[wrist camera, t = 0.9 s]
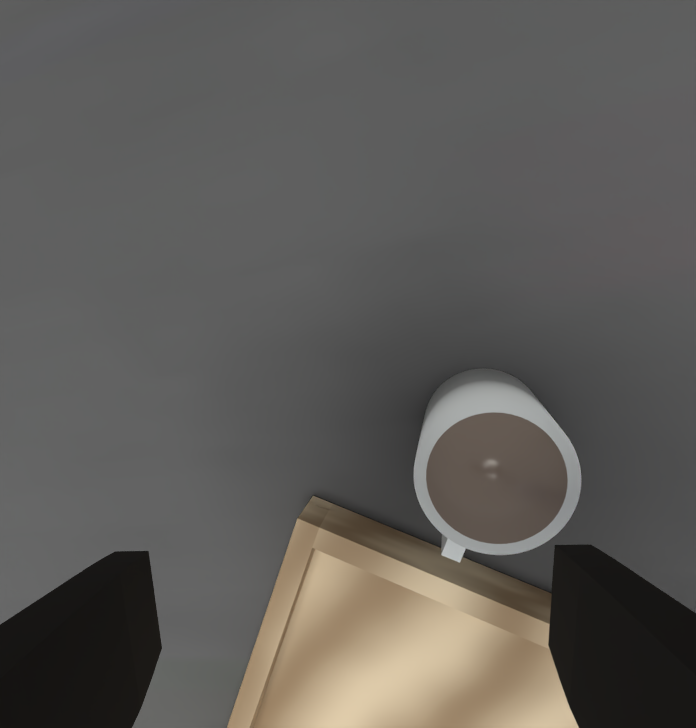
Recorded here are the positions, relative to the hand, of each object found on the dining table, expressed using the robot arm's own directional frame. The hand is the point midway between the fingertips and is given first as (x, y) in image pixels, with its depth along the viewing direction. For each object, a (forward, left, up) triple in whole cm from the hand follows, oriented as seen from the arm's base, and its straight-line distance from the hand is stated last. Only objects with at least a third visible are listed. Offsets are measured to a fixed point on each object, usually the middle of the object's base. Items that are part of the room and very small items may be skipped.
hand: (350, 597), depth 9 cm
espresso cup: (-3, -1, -14) cm, 14 cm away
